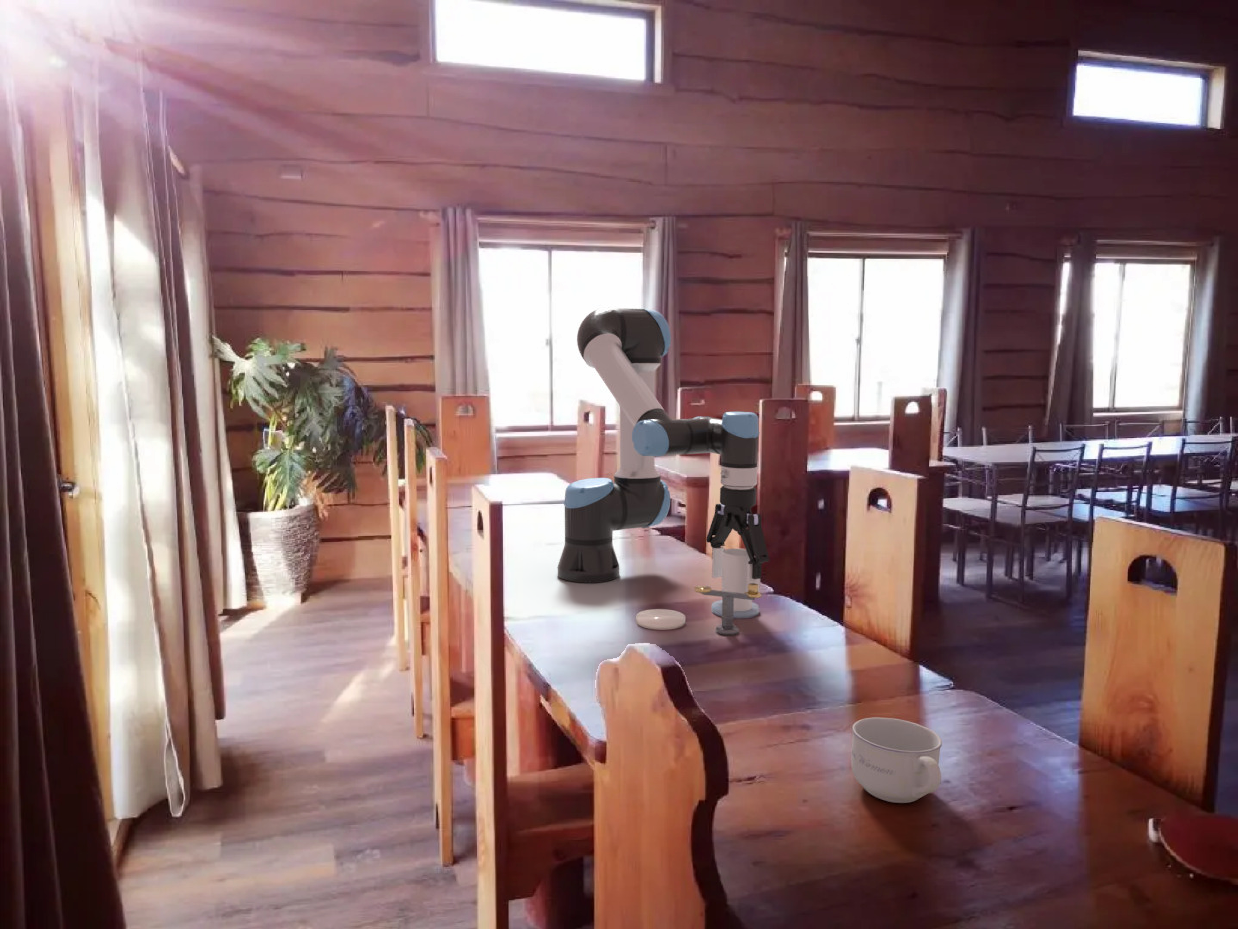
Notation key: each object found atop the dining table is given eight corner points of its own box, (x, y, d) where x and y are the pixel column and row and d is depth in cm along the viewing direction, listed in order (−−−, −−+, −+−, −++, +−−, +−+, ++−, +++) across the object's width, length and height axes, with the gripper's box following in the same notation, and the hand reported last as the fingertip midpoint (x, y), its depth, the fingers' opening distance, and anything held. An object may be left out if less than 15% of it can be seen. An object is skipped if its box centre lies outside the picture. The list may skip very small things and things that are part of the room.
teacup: (838, 772, 118) (840, 715, 117) (917, 769, 119) (920, 712, 118) (876, 829, 104) (880, 764, 103) (965, 825, 105) (970, 761, 104)
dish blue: (702, 607, 191) (702, 602, 191) (741, 602, 196) (742, 597, 196) (727, 620, 182) (728, 615, 182) (768, 614, 187) (768, 609, 187)
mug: (757, 611, 185) (758, 555, 183) (726, 613, 184) (727, 556, 182) (742, 598, 195) (743, 544, 193) (712, 599, 194) (713, 545, 192)
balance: (689, 633, 174) (690, 586, 173) (752, 624, 181) (753, 578, 179) (700, 640, 170) (701, 592, 169) (764, 630, 177) (766, 583, 175)
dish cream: (627, 618, 184) (627, 612, 184) (670, 612, 188) (670, 606, 188) (650, 632, 175) (650, 626, 175) (694, 625, 179) (694, 620, 179)
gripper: (692, 478, 195) (690, 572, 198) (757, 497, 173) (753, 603, 176) (721, 476, 198) (718, 569, 201) (789, 495, 176) (784, 598, 179)
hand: (735, 585), depth 189 cm, fingers open, 13 cm apart
